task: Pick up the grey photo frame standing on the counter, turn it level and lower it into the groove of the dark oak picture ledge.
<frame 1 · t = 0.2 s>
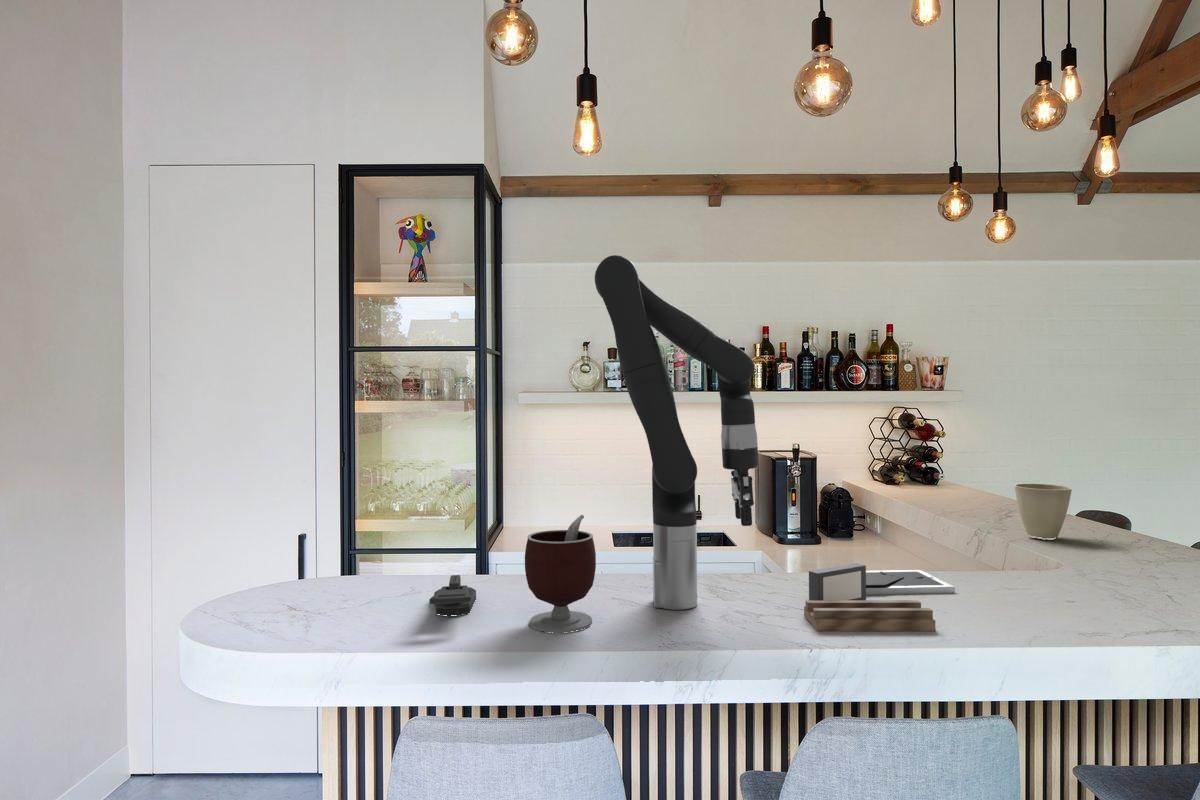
hand: (743, 522, 152), 17 cm above the countertop, tool pointing down, fingers open, 8 cm apart
grey photo frame: (838, 606, 150), on the countertop
picture ledge: (867, 623, 138), on the countertop
mate gourd: (563, 623, 140), on the countertop
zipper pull: (453, 614, 147), on the countertop
plant pot: (1042, 539, 219), on the countertop
picture frame 2: (893, 588, 167), on the countertop
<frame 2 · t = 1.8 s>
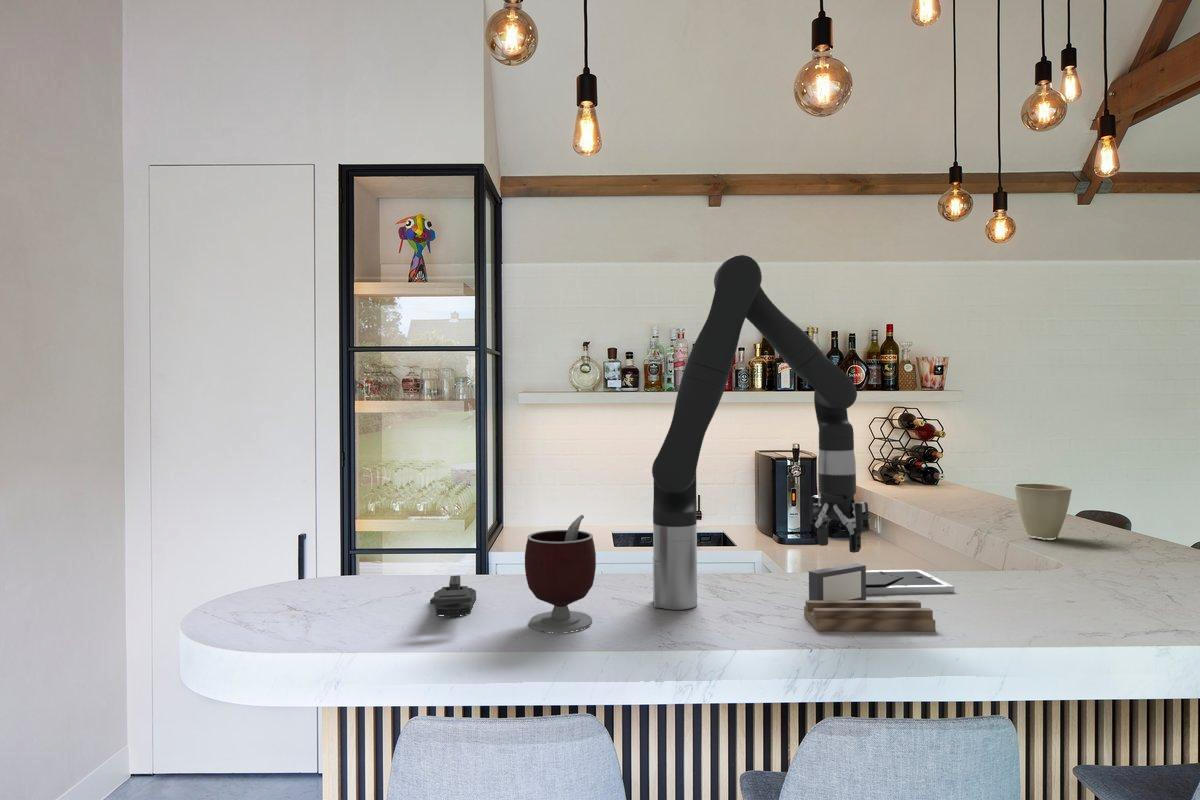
hand: (838, 548, 150), 12 cm above the countertop, tool pointing down, fingers open, 8 cm apart
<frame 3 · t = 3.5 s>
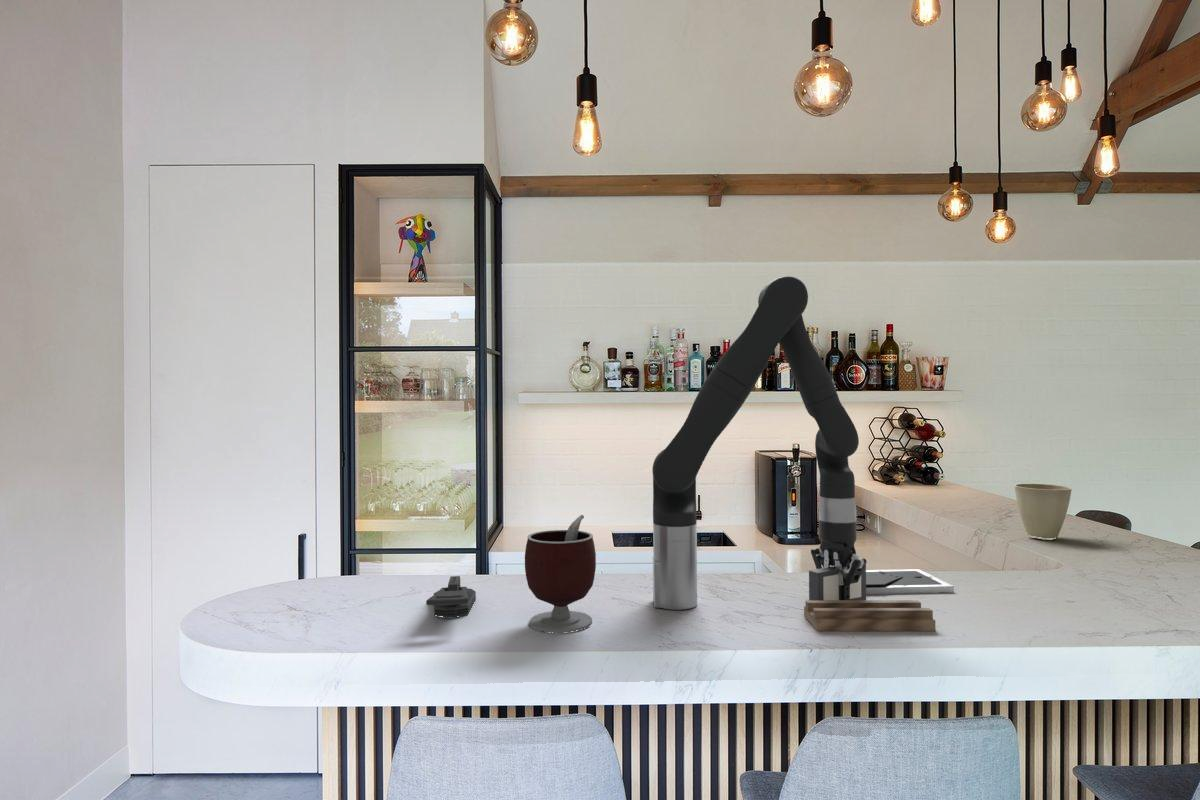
hand: (838, 600, 150), 1 cm above the countertop, tool pointing down, fingers closed on grey photo frame, 2 cm apart
grey photo frame: (838, 605, 150), on the countertop, touching gripper
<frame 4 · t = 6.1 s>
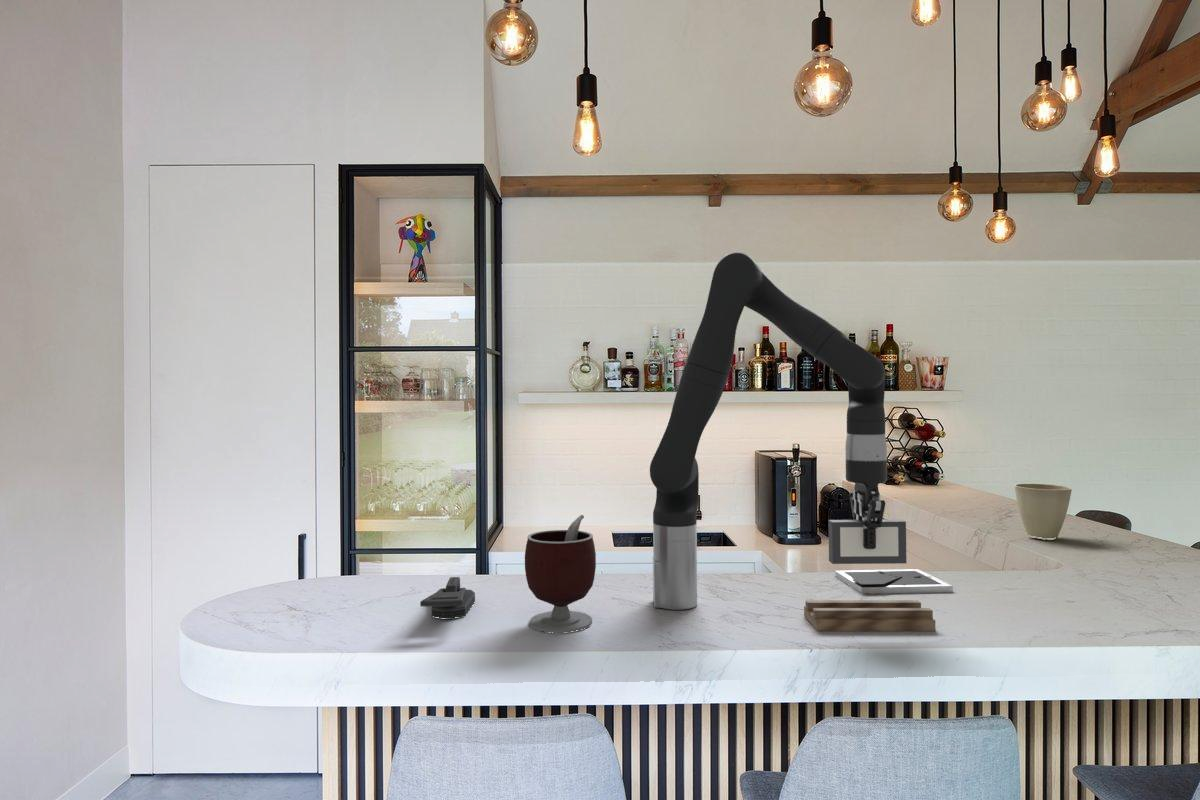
hand: (866, 546, 138), 15 cm above the countertop, tool pointing down, fingers closed on grey photo frame, 2 cm apart
grey photo frame: (867, 562, 138), point 12 cm above the countertop, touching gripper
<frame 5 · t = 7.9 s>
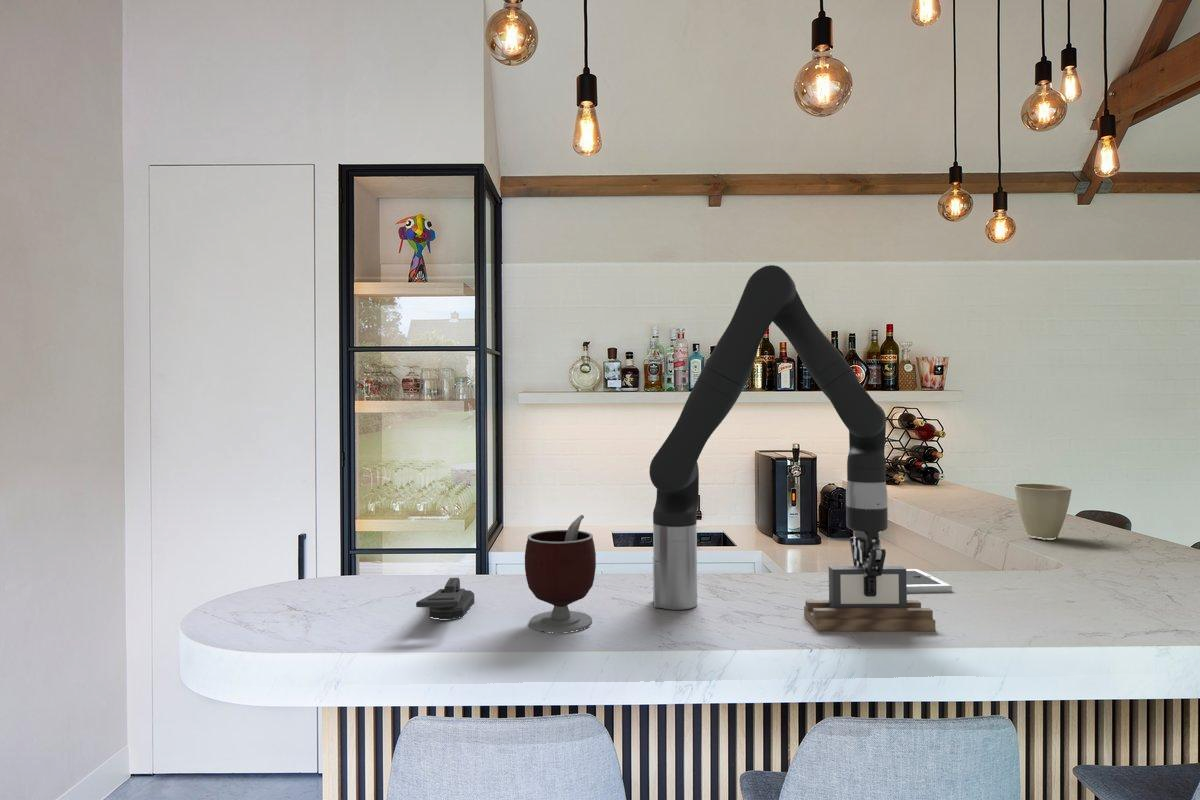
hand: (867, 593, 138), 6 cm above the countertop, tool pointing down, fingers closed on grey photo frame, 2 cm apart
grey photo frame: (867, 609, 138), point 3 cm above the countertop, touching gripper
when the fingers open (4 cm above the countertop, at t = 8.6 s): grey photo frame stays where it is, resting on picture ledge.
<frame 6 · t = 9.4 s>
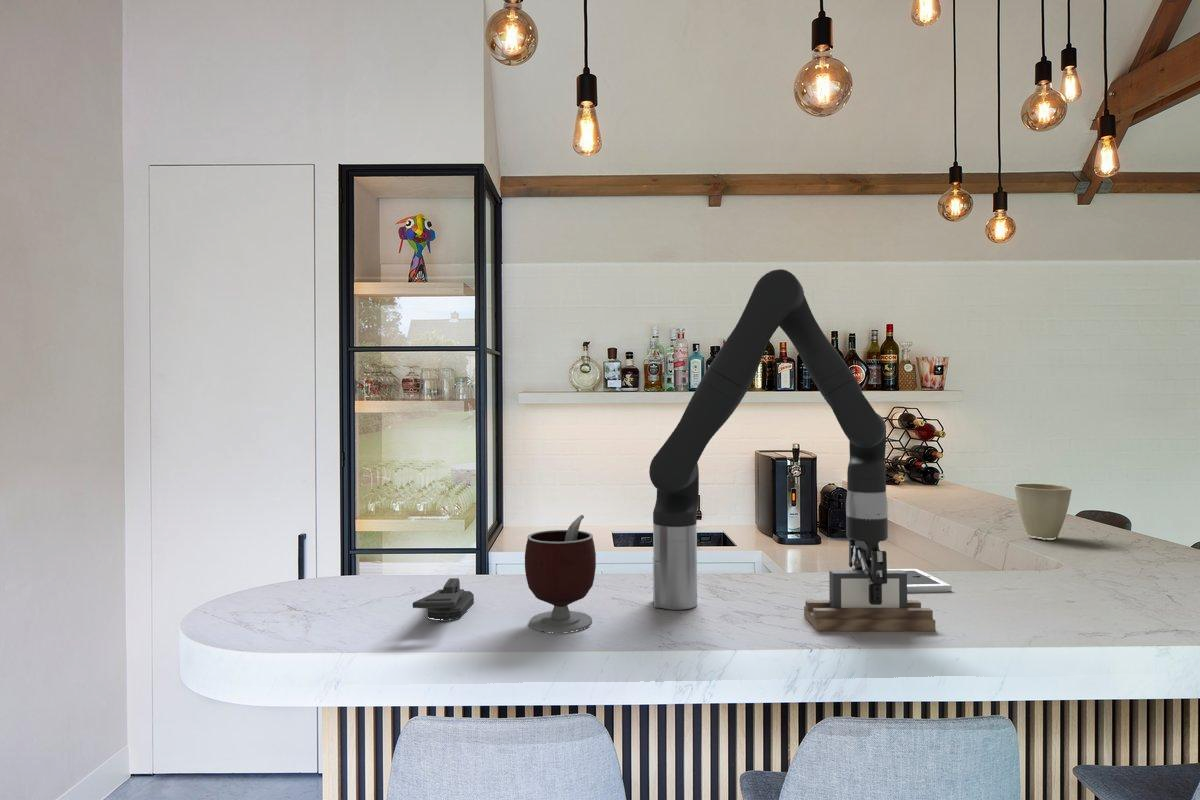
hand: (867, 598, 138), 5 cm above the countertop, tool pointing down, fingers open, 8 cm apart
grey photo frame: (868, 613, 138), point 2 cm above the countertop, touching picture ledge
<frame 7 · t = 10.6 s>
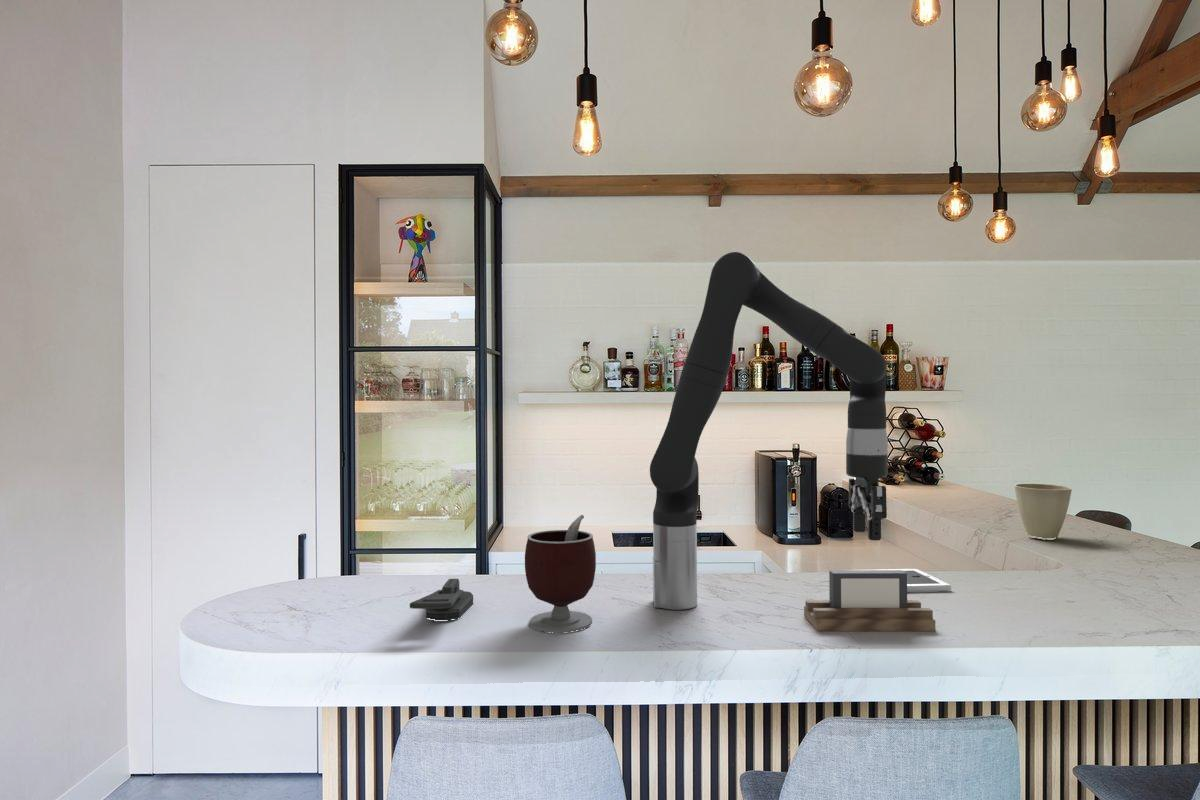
hand: (866, 535, 138), 17 cm above the countertop, tool pointing down, fingers open, 8 cm apart
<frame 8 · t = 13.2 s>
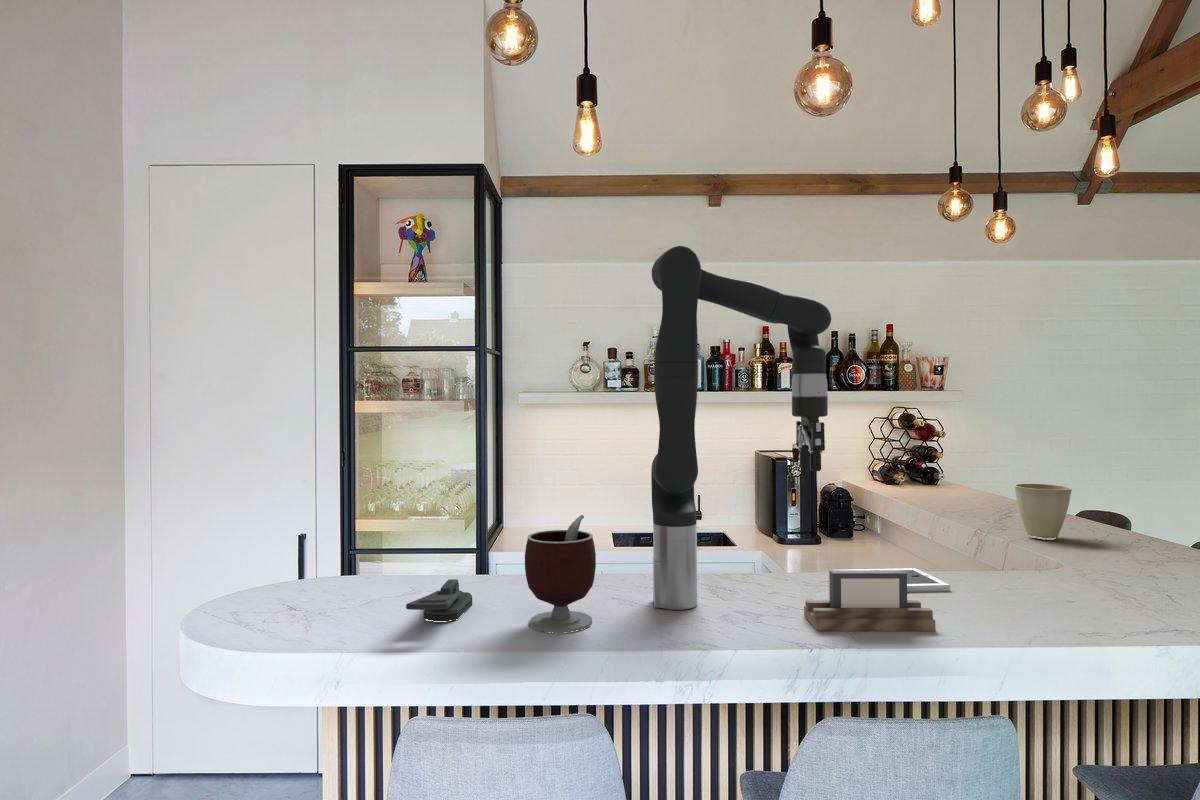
hand: (810, 469, 156), 28 cm above the countertop, tool pointing down, fingers open, 8 cm apart
at the end: grey photo frame inside the target area on the picture ledge (0.1 cm from its centre), point 2.0 cm above the picture ledge's base; grey photo frame tilted 0°; the gripper is holding nothing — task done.
